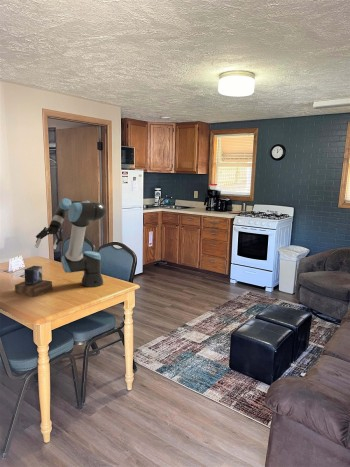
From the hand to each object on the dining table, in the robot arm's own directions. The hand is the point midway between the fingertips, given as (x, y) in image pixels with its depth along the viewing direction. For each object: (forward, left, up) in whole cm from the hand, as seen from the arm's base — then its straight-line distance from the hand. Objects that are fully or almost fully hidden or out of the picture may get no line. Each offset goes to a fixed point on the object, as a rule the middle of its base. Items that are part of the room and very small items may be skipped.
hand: (44, 247), depth 234 cm
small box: (-1, +14, -21) cm, 25 cm away
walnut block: (-1, +14, -27) cm, 30 cm away
